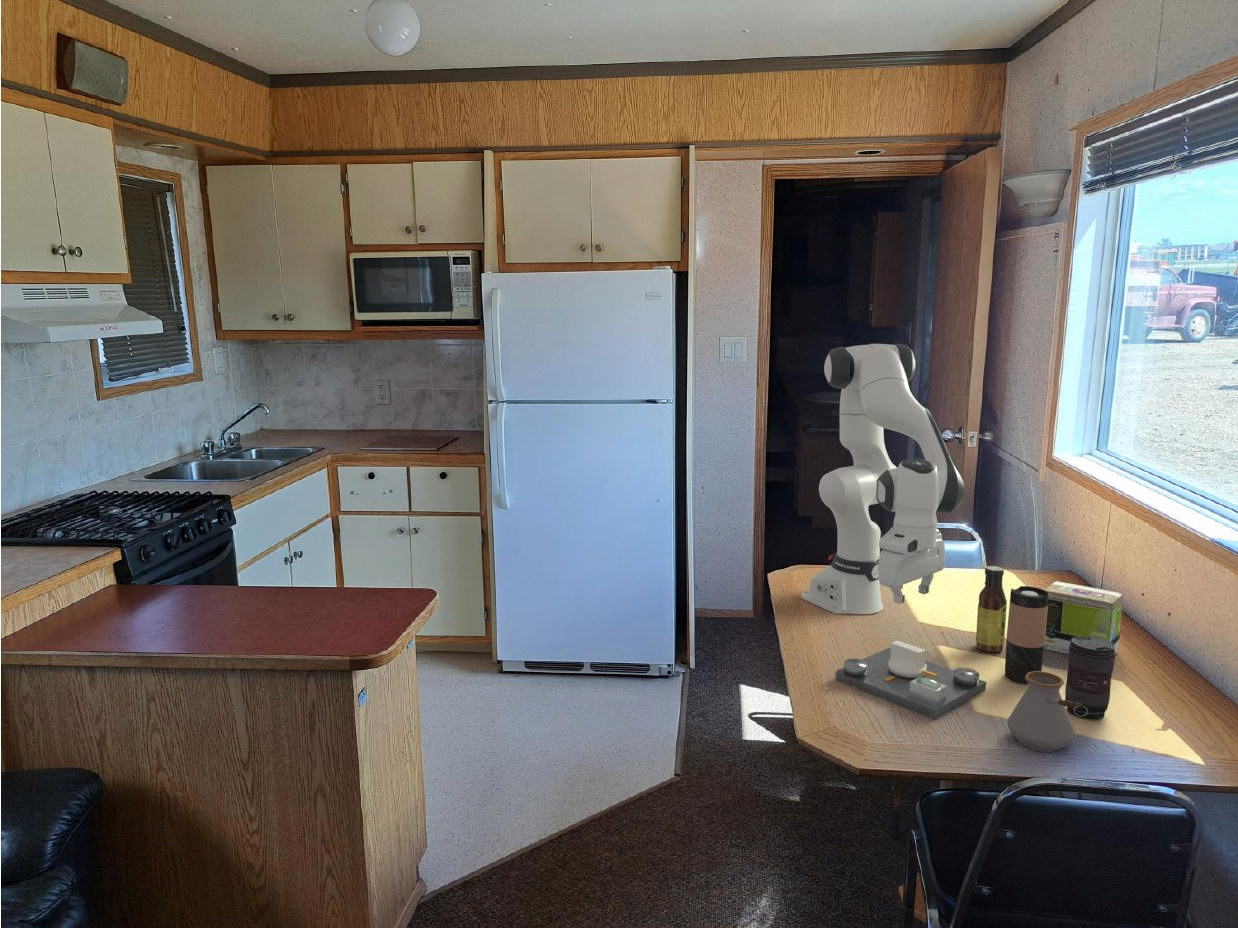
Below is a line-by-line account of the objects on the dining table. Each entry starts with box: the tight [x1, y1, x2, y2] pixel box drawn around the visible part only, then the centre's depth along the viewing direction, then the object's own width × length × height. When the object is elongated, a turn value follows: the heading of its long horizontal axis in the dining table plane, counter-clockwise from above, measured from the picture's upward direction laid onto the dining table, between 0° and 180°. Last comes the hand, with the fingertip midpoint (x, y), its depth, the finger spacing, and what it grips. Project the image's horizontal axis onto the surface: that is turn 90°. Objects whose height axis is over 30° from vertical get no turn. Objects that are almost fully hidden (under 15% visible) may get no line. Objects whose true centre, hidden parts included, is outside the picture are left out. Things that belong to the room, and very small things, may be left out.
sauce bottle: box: [975, 565, 1008, 653], centre depth 206 cm, size 6×6×20 cm
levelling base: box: [834, 647, 987, 720], centre depth 188 cm, size 24×20×6 cm
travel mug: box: [1004, 585, 1049, 686], centre depth 190 cm, size 8×8×20 cm
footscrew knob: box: [888, 640, 937, 678], centre depth 190 cm, size 11×8×6 cm
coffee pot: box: [1006, 671, 1088, 753], centre depth 159 cm, size 21×12×15 cm, turn 175°
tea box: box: [1044, 580, 1124, 655], centre depth 205 cm, size 15×10×15 cm, turn 48°
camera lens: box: [1064, 636, 1116, 721], centre depth 175 cm, size 8×8×15 cm
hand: (911, 597), depth 188 cm, fingers open, 8 cm apart
